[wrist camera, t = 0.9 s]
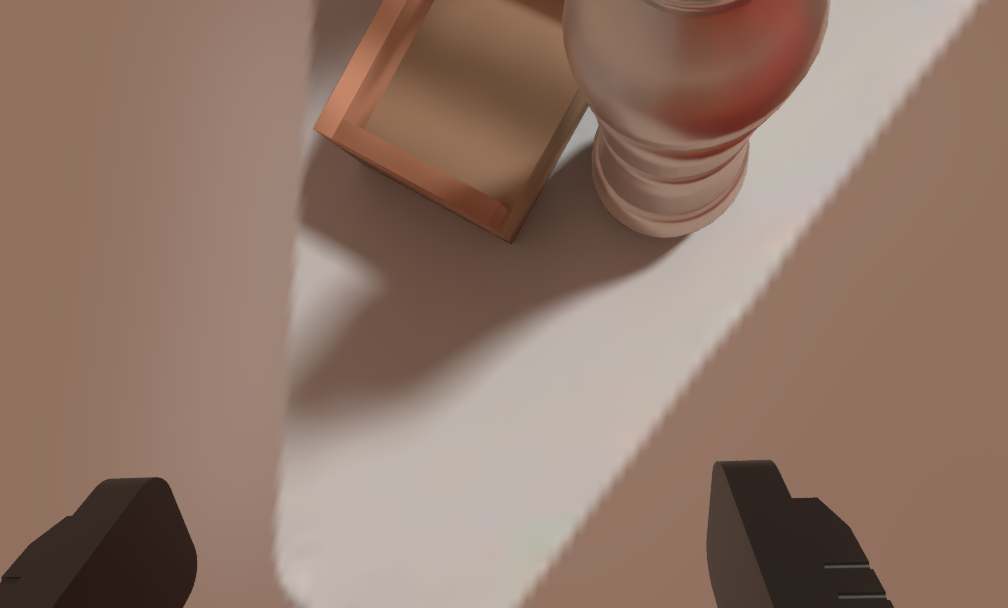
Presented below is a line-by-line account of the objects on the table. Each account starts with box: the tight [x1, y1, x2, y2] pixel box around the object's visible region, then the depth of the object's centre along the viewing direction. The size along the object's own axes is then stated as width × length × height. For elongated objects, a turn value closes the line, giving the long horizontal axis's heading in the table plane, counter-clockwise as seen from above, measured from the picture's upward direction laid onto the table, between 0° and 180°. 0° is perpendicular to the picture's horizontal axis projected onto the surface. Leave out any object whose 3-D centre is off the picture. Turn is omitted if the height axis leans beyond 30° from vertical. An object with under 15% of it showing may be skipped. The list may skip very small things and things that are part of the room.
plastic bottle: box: [562, 0, 830, 238], centre depth 21 cm, size 6×7×20 cm
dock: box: [313, 0, 589, 244], centre depth 30 cm, size 12×9×5 cm
